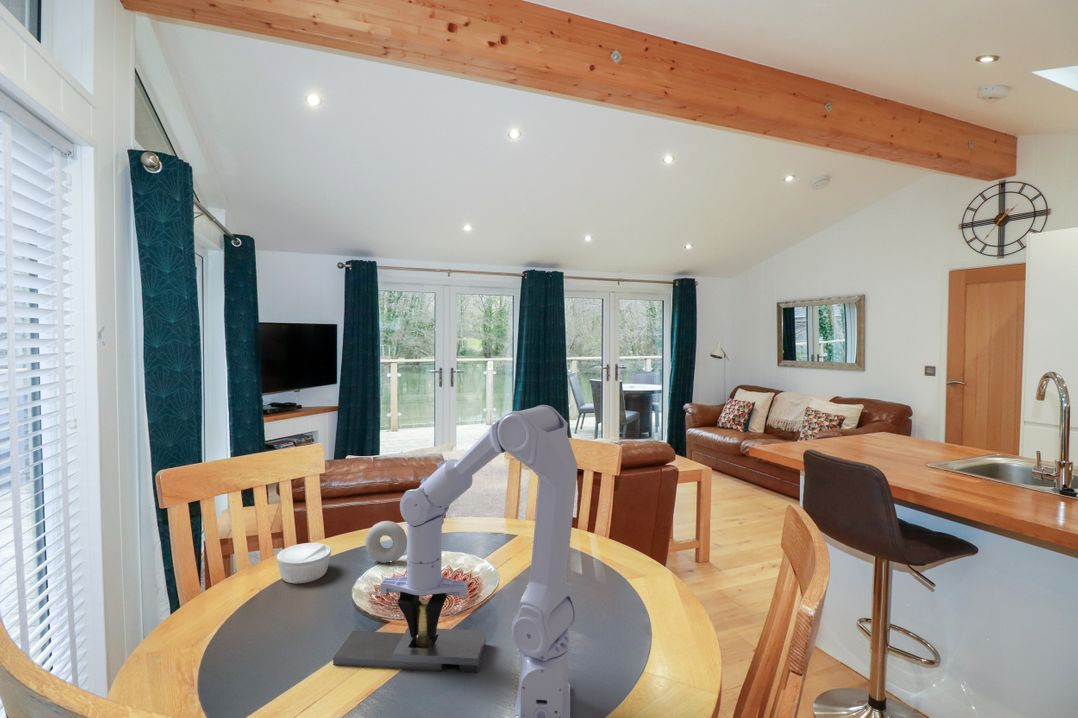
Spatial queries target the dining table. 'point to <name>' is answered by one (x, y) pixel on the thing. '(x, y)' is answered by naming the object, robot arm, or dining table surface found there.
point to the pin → (422, 625)
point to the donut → (378, 550)
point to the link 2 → (445, 649)
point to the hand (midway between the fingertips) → (423, 635)
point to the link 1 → (376, 651)
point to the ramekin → (303, 562)
